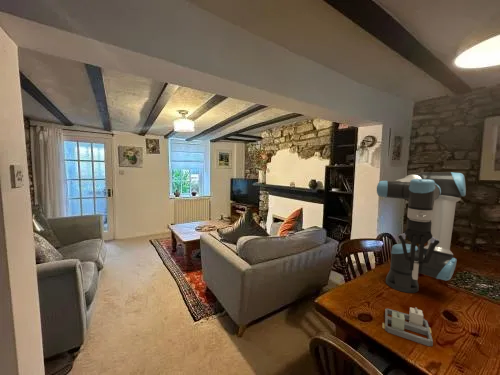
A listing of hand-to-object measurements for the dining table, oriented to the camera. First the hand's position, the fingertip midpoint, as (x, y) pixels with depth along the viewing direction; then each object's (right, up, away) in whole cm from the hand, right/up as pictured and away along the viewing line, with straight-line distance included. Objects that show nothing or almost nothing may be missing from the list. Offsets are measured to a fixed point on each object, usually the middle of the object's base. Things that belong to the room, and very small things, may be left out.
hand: (414, 278), depth 87 cm
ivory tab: (+2, -20, +3) cm, 21 cm away
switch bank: (-2, -22, +2) cm, 22 cm away
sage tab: (-7, -21, 0) cm, 22 cm away
